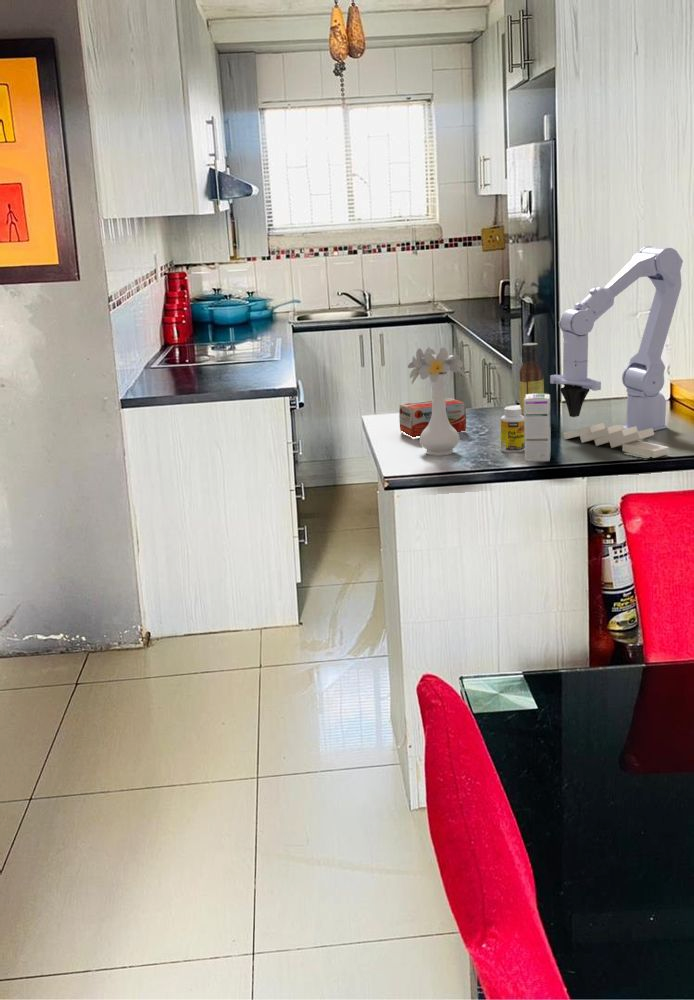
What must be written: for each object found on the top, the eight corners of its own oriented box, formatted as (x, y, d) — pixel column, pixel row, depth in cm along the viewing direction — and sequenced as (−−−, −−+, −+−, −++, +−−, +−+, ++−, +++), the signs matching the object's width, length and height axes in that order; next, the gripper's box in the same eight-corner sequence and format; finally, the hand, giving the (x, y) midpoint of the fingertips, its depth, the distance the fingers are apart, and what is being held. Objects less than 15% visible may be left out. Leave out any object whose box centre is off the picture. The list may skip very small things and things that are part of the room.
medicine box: (452, 426, 275) (451, 396, 273) (466, 433, 268) (466, 402, 266) (399, 434, 270) (398, 403, 268) (412, 440, 263) (411, 409, 261)
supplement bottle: (505, 454, 245) (505, 411, 242) (497, 449, 250) (497, 406, 247) (528, 452, 246) (528, 409, 243) (519, 446, 251) (519, 404, 248)
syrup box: (550, 461, 237) (550, 398, 233) (523, 461, 238) (523, 398, 234) (550, 455, 243) (551, 393, 238) (524, 455, 244) (524, 393, 240)
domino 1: (563, 432, 256) (589, 426, 249) (577, 429, 259) (604, 422, 251) (564, 439, 256) (591, 432, 249) (578, 435, 259) (605, 429, 252)
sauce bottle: (547, 417, 280) (548, 342, 274) (538, 422, 275) (539, 346, 269) (524, 415, 284) (525, 341, 278) (515, 420, 279) (515, 345, 273)
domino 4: (609, 441, 245) (637, 431, 237) (624, 437, 248) (652, 427, 240) (611, 448, 245) (639, 438, 237) (626, 444, 248) (654, 434, 240)
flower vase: (449, 441, 260) (447, 339, 253) (477, 458, 243) (476, 349, 235) (398, 446, 257) (395, 343, 249) (424, 464, 240) (421, 354, 232)
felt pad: (641, 450, 243) (641, 448, 243) (662, 454, 239) (662, 453, 238) (624, 454, 240) (624, 453, 240) (645, 459, 235) (645, 458, 235)
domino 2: (579, 436, 252) (606, 427, 245) (594, 433, 255) (621, 424, 247) (581, 443, 252) (608, 434, 245) (596, 439, 255) (623, 430, 247)
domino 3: (594, 439, 249) (621, 429, 241) (608, 436, 252) (636, 426, 244) (596, 446, 249) (623, 436, 241) (610, 442, 251) (638, 432, 244)
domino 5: (622, 444, 242) (654, 451, 235) (637, 440, 244) (669, 447, 237) (622, 450, 242) (653, 458, 235) (637, 447, 245) (668, 454, 238)
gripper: (541, 359, 255) (540, 414, 259) (586, 365, 244) (585, 423, 248) (562, 355, 259) (561, 409, 263) (607, 361, 248) (606, 418, 252)
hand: (574, 416), depth 256 cm, fingers closed
